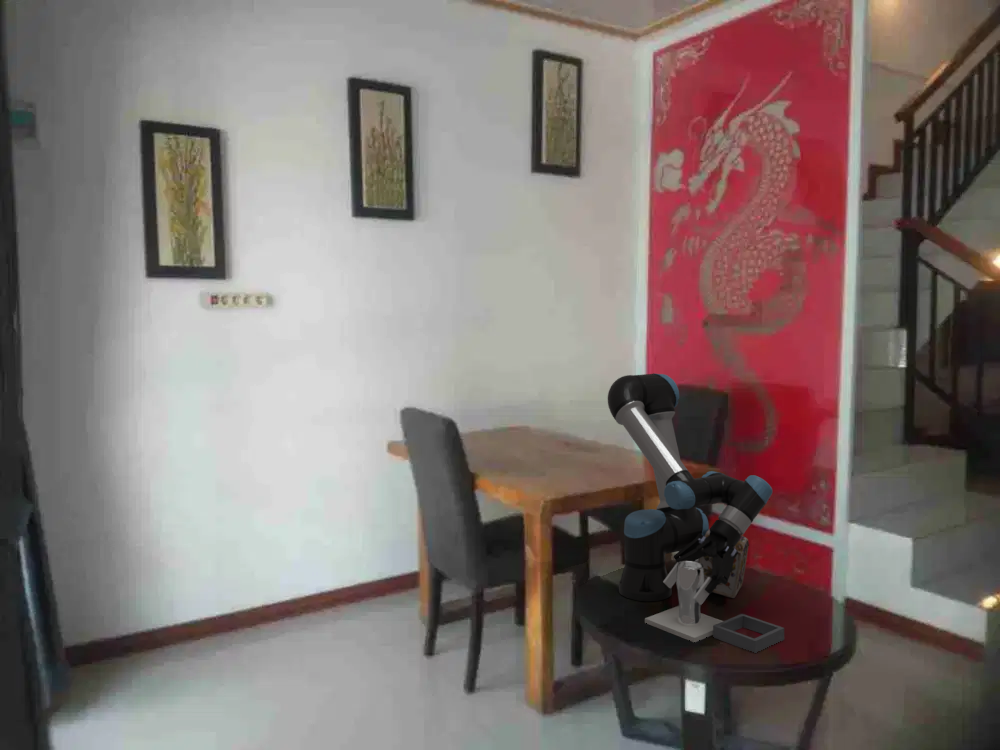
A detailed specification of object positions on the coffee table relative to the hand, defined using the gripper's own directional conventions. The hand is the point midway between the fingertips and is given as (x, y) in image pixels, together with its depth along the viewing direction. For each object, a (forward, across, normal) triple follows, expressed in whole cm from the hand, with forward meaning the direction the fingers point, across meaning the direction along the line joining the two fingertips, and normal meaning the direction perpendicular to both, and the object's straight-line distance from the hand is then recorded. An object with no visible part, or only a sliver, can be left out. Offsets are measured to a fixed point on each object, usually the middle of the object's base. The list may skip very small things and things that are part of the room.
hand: (681, 593), depth 190 cm
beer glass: (+4, 0, -8) cm, 8 cm away
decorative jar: (-13, +18, -25) cm, 33 cm away
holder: (-1, -12, -14) cm, 19 cm away
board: (+5, +1, -8) cm, 10 cm away
